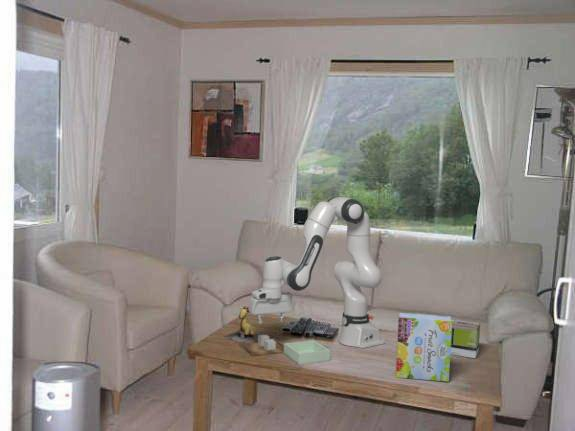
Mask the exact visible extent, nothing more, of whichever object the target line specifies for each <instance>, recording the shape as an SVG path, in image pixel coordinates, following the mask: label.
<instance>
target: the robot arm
mask: <svg viewBox="0 0 575 431" xmlns="http://www.w3.org/2000/svg"><path fill="white" fill-rule="evenodd" d="M336 220H338V221H341V222H345V223H346V227H347V228H346V251H347V253H348V254H350V256H351V257H352V258H353V261H352V260H340V261H337V262H336V264H335V266H334V267H333V276H334V278H335V279H336V281H337V282H338V283H339V285H340V287H341V290H342V294H343V312H342V316H341V317H342V320H341V321H342V322H341V323H342V324H341V325H342V327H341V332H340V336H339V339H338V342H339V343H340V344H342V345H344V346H348V347H349V346H350V347H355V348H361V349H365V348H371V347H374V346H378V345H383V344H385V343H386V342H385V339H384V338H382V337H381V333H380V332H381V331H380V329H379V328H378V327H377V326H376V325H375V324H373V323H372V321H373V320H374V319H375V316H374V315H372V314H368V313H367V312H368V297H367V296H366V294H364V292H363V290H362V289H361V288H364V289H365V288H367V289H373V288H378V286H380V284H381V283H382V280H383V274H382V270H381V268H379V267H378V266H377V264H376V263H375V261H374V259H373V256H372V251H371V223H370V222H371V221H370V216H369V214H368V213H367V212H366V211H364V207H363V205H362V203H361V202H360V201H358V200H357V199H355V198H351V197H347V196H337V195H336V196H332V197H330V198H329V199H328V200H327V201H323V200H322V201H319V202H318V203H317V204H316V205H315V206H314V208H313V209H312V211H311V212H310V214H309V215H308V217H307V219H306V221H305V222H304V225H303V227H302V231H301V232H302V236H303V238H304V240H305V243H306V245H305V251H304V253H303V255H302V257H301V260H300V261H299V264H298V265H296V264H295V263H291V262H289V261H287V260H285V259H283V257H281V256H277V255H276V256H270V257H268V258H266V259H265V261H264V262H263V268H262V269H263V272H262V279H263V282H262V285H261V286H262V287H260V288H258V289H256V290H255V289H254V290H253V291H252V292H251V298H250V301H249V305H248V307H249V312H248V313H249V314H251V315H252V316H256V318H257V319H258V321H257V322H258V324H259V325H263V322H264V320H263V319H261V317H262V315H269V314H270V315H271V314H272V315H273V314H280V315H279V317H277V321H276V322H278V323H283V318H284V317H285V315H286V314H285V313H291V312H292V311H293V294H292V293H291V292H290V291H286V292H285V291H282V290H283V285H287V286H289V287H290V289H291V290H294V291H296V292H297V291H298V292H299V291H304V290H305V289H307V287H309V285H310V283H311V278H312V271H314V270H313V269H314V267H315V265H316V263H317V260H318V257H319V255H320V254H321V251H322V248H323V246H324V241H325V238H326V236H327V235H328V232H329V230H330V229H331V227H332V224H333V223H334V222H335V221H336ZM370 320H372V321H370Z"/></svg>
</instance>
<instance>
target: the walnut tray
mask: <svg viewBox="0 0 575 431" xmlns="http://www.w3.org/2000/svg"><path fill="white" fill-rule="evenodd" d="M271 339H273V340H274V341H276V349H274V350H265V349H264V346H260V345H259V344H258V340H255V339H254V340H253V341H248V340H247V341H243V342H239V347H240V348H242V349H243V350H244V351H246V352H247V353H248V354H249V355H250V356H251V357H258V356H265V355H267V356H268V355H275V354H276V355H277V354H283V352H284V343H283V342H281V341H279V340H278V339H276V338H275V337H274V338H271Z"/></svg>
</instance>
